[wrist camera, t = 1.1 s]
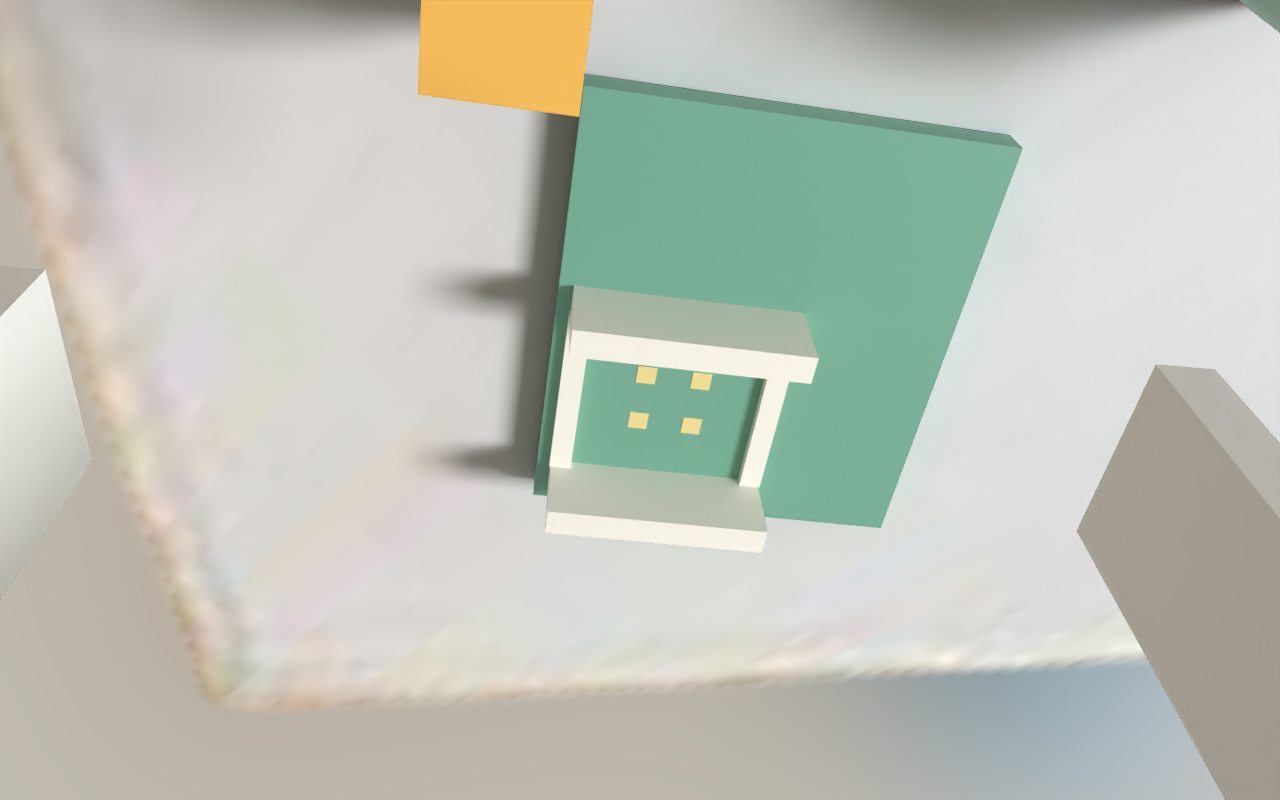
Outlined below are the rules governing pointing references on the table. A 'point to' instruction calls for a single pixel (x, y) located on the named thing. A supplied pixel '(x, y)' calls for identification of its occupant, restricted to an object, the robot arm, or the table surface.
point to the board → (751, 310)
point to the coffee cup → (1266, 11)
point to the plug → (506, 52)
